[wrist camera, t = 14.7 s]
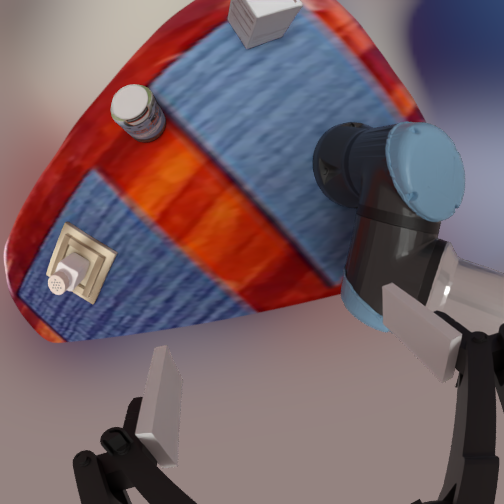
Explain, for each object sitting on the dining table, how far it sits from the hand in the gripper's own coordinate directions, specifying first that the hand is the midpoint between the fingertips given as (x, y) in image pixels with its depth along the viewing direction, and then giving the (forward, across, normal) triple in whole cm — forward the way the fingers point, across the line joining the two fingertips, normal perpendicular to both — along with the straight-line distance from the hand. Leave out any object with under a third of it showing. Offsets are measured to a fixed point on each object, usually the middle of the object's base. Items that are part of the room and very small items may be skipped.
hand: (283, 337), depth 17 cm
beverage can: (+34, -10, +20) cm, 41 cm away
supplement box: (+35, +11, +33) cm, 49 cm away
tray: (+34, -28, +1) cm, 44 cm away
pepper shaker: (+33, -28, +1) cm, 44 cm away
